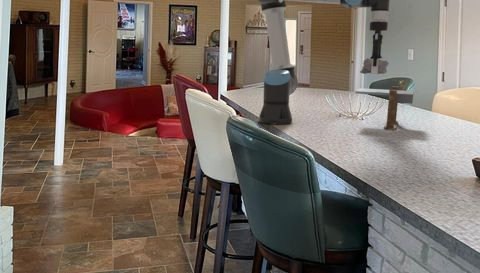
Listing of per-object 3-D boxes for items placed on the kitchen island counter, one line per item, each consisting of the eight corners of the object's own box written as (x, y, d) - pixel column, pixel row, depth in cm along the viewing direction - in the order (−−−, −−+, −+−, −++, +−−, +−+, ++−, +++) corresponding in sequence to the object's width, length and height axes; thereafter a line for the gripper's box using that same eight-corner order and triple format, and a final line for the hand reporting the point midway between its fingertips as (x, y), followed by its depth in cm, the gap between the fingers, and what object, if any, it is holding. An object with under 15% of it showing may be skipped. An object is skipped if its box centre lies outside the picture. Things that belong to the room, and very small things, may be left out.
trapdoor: (354, 100, 206) (355, 91, 206) (359, 96, 221) (359, 88, 220) (412, 103, 198) (413, 94, 197) (412, 99, 213) (413, 91, 212)
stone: (386, 75, 203) (388, 59, 202) (358, 73, 208) (360, 58, 207) (389, 74, 210) (390, 58, 209) (362, 73, 215) (363, 58, 214)
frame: (383, 129, 201) (386, 90, 198) (387, 121, 222) (390, 86, 218) (395, 130, 200) (399, 90, 196) (398, 122, 220) (401, 86, 216)
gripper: (386, 20, 194) (381, 75, 198) (389, 22, 213) (385, 72, 217) (367, 20, 196) (363, 74, 201) (372, 22, 216) (368, 72, 220)
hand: (375, 73), depth 209 cm, fingers closed on stone, 8 cm apart
